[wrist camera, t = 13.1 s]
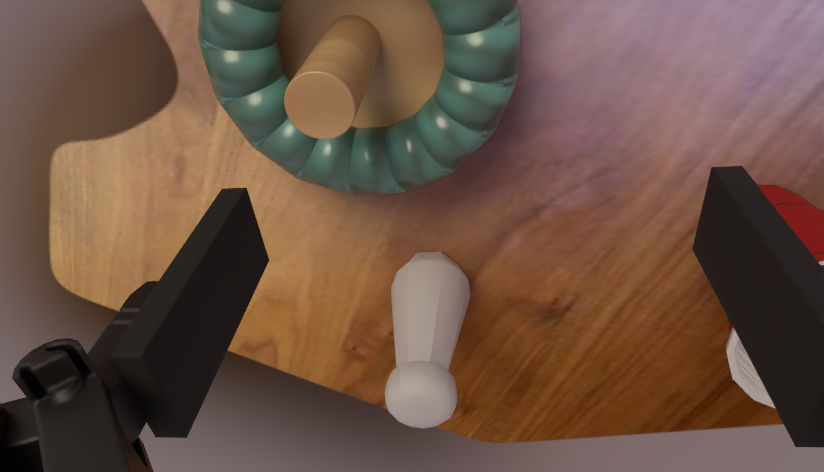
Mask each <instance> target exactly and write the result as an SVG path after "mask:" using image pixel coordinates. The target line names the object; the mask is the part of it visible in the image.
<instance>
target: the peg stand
mask: <svg viewBox="0 0 824 472" xmlns="http://www.w3.org/2000/svg"><path fill="white" fill-rule="evenodd" d="M277 44H278V48H279V52H280V57H281V61H282V65H283V70H284V72H285V74H286V75H287V77H288V78H289V80H290V81H291V82H290V83H289V85H288V86H287V89H286V91H285V95H284V105H285V110H286V113H287V115H288V117H289V119H290V121H291V122H292V123H293V125H294V126H295V127H296V128H297V129H298V130H300V131H301V132H302V133H304V134H306V135H308V136H310V137H313V138H317V139H332V138H336V137H338V136H340V135H342V134H344V133H345V132H346V131H347V130H348V129H349V128H350V127H351V126H353V127H356V128H370V127H389V126H391V125H393V124H395V123H397V122H399V121H401V120H404V119H406V118H408V117H410V116H412V115H414V114H416V112H417V111H418V110H419V109H420V108H421V107H422V106H423V105H424V104H425V103H426V101H427V100H428V99H429V98H430V97H431V96H432V95H433V94H434V92H435V89H436V87H437V84H438V81H439V78H440V75H441V72H442V69H443V66H444V53H443V37H442V30H441V28H440V26H439V24H438V22H437V20H436V18H435V16H434V14H433V12H432V10H431V8H430V6H429V4H428V1H427V0H287V1H286V2H285V4H284V5H283V7H282V9H281V15H280V21H279V28H278V34H277Z"/></svg>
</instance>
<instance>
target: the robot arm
mask: <svg viewBox="0 0 824 472" xmlns="http://www.w3.org/2000/svg"><path fill="white" fill-rule="evenodd" d="M693 251H694V253H695V255H696V257H697V259H698V261H699V262H700V264H701V266H702V268H703V270H704V272H705V274H706V276H707V278H708V280H709V282H710V284H711V285H712V287H713V289H714V291H715V293H716V295H717V297H718V299H719V301H720V303H721V305H722V307H723V308H724V310H725V312H726V314H727V316H728V318H729V320H730V322H731V324H732V326H733V328H734V330H735V331H736V333H737V335H738V337H739V339H740V341H741V343H742V345H743V347H744V349H745V351H746V352H747V354H748V356H749V358H750V360H751V362H752V364H753V366H754V368H755V370H756V372H757V374H758V375H759V377H760V379H761V381H762V383H763V385H764V387H765V389H766V391H767V393H768V395H769V397H770V398H771V400H772V402H773V404H774V406H775V408H776V410H777V412H778V414H779V416H780V418H781V420H782V421H783V423H784V425H785V427H786V429H787V431H788V433H789V435H790V437H791V439H792V441H793V442H794V444H795V446H796V447H824V265H820V264H819V262H818V261H817V260H816V259H815V257H814V256H813V255H812V254H811V252H810V251H809V250H808V248H807V247H806V246H805V245H804V243H803V242H802V241H801V240H800V238H799V237H798V236H797V235H796V233H795V232H794V231H793V230H792V228H791V227H790V226H789V225H788V223H787V222H786V221H785V220H784V218H783V217H782V216H781V215H780V213H779V212H778V211H777V209H776V208H775V207H774V206H773V204H772V203H771V202H770V201H769V199H768V198H767V197H766V196H765V194H764V193H763V192H762V191H761V189H760V188H759V187H758V186H757V184H756V183H755V182H754V181H753V179H752V178H751V177H750V176H749V174H748V173H747V172H746V170H745V169H744V168H743V167H742V166H732V167H712V168H711V172H710V177H709V181H708V185H707V189H706V194H705V198H704V202H703V206H702V211H701V215H700V219H699V223H698V227H697V232H696V236H695V240H694V244H693ZM268 262H269V258H268V255H267V252H266V249H265V246H264V242H263V239H262V236H261V233H260V230H259V226H258V223H257V220H256V217H255V214H254V210H253V207H252V204H251V201H250V198H249V194H248V191H247V188H230V189H222V190H221V191H220V193H219V194H218V196H217V197H216V198H215V200H214V201H213V203H212V204H211V206H210V207H209V209H208V210H207V212H206V213H205V215H204V216H203V217H202V219H201V220H200V222H199V223H198V225H197V226H196V228H195V229H194V231H193V232H192V233H191V235H190V236H189V238H188V239H187V241H186V242H185V244H184V245H183V247H182V248H181V250H180V251H179V252H178V254H177V255H176V257H175V258H174V260H173V261H172V263H171V264H170V266H169V267H168V268H167V270H166V271H165V273H164V274H163V276H162V277H161V279H160V280H159V281H151V282H146V283H145V284H143V285H142V286H141V287H140V288H138V289H137V290H136V291H135V292H133V293H132V294H131V295H130V296H129V297H128V299H127V300H126V302H125V303H124V304H123V306H122V307H121V308H120V312H119V313H117V314H116V315H115V317H114V318H113V320H112V321H111V325H108V326H107V328H106V329H105V330H104V332H103V333H102V335H101V336H100V337H99V339H98V340H97V341H96V343H95V344H94V346H93V347H92V348H91V350H90V351H89V353H88V354H86V352H85V350H84V349H83V347H82V346H81V344H80V343H79V342H78V341H77V340H73V339H57V340H54V341H51V342H48V343H45V344H43V345H41V346H39V347H38V348H36V349H34V350H32V351H31V352H30V353H28V354H27V355H26V356H25V357H24V358H23V359H21V360H20V362H19V363H18V365H17V366H16V367H15V369H14V372H13V377H12V378H13V380H14V381H15V382H16V384H17V385H18V386H19V388H20V389H21V390H22V391H23V393H24V394H25V395H26V398H22V399H18V400H14V401H10V402H6V403H3V404H1V403H0V472H153V469H152V467H151V464H150V461H149V458H148V455H147V453H146V450H145V447H144V444H143V443H142V441H141V439H140V438H139V435H140V433H141V431H142V429H143V427H144V425H145V424H146V422H147V423H148V425H149V427H150V428H151V430H152V432H153V433H154V435H155V437H177V438H186V437H187V436H188V434H189V431H190V429H191V427H192V425H193V423H194V421H195V419H196V416H197V414H198V412H199V410H200V408H201V406H202V403H203V401H204V399H205V397H206V395H207V393H208V391H209V388H210V386H211V384H212V382H213V380H214V377H215V376H216V373H217V371H218V369H219V367H220V365H221V362H222V360H223V358H224V356H225V354H226V352H227V350H228V348H229V345H230V343H231V341H232V339H233V337H234V335H235V333H236V330H237V328H238V326H239V324H240V322H241V320H242V317H243V315H244V313H245V311H246V309H247V307H248V305H249V302H250V300H251V298H252V296H253V294H254V292H255V289H256V287H257V285H258V283H259V281H260V279H261V277H262V274H263V272H264V270H265V268H266V266H267V264H268Z"/></svg>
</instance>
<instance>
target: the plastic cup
mask: <svg viewBox="0 0 824 472" xmlns="http://www.w3.org/2000/svg"><path fill="white" fill-rule="evenodd" d="M757 186H758V187H759V188H760V189H761V191H762V192H763V193H764V194H765V196H766V197H767V198H768V199H769V201H770V202H771V203H772V204H773V206H774V207H775V208H776V209H777V211H778V212H779V213H780V215H781V216H782V217H783V218H784V220H785V221H786V222H787V223H788V225H789V226H790V227H791V228H792V230H793V231H794V232H795V233H796V235H797V236H798V237H799V238H800V240H801V241H802V242H803V243H804V245H805V246H806V247H807V248H808V250H809V251H810V252H811V254H812V255H813V256H814V257H815V259H816V260H817V261H818V262H819V264H820V265H824V211H823V210H820V209H818V208H816V207H815V206H813V205H812V204H811V203H809V202H808V201H806V200H805V199H803V198H802V197H800V196H799V195H798V194H796V193H793V192H791V191H788V190H786V189H783V188H781V187H778V186H776V185H757ZM728 320H729V318H728ZM729 330H730V336H729V339H728V342H727V345H726V352H727V356H728V361H729V365H730V370H731V374H732V379H733V380H734V381H735V382H736V383H737V384H738V385H739V386H740V387H741V388H742V389H743V390H744V391H745V392H746V393H747V394H748V395H749V396H750V397H751V398H752V399H753V400H755V401H758V402H760V403H763V404H765V405H768V406H770V407H773V408H775V406H774V404H773V402H772V400H771V398H770V397H769V395H768V393H767V391H766V389H765V387H764V385H763V383H762V381H761V379H760V377H759V375H758V374H757V372H756V370H755V368H754V366H753V364H752V362H751V360H750V358H749V356H748V354H747V352H746V351H745V349H744V347H743V345H742V343H741V341H740V339H739V337H738V335H737V333H736V331H735V330H734V328H733V326H732V324H731V322H730V320H729Z"/></svg>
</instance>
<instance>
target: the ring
mask: <svg viewBox="0 0 824 472" xmlns="http://www.w3.org/2000/svg"><path fill="white" fill-rule="evenodd" d="M286 1H287V0H200V13H199V26H198V39H199V43H200V47H201V50H202V54H203V57H204V60H205V63H206V67H207V70H208V73H209V76H210V79H211V83H212V86H213V89H214V92H215V95H216V97H217V99H218V101H219V102H220V104H221V106H222V107H223V108H224V110H225V111H226V112H227V114H228V115H229V116H230V118H231V119H232V120H233V122H234V123H235V124H236V126H237V127H238V128H239V130H240V131H241V133H242V134H243V135H244V137H245V138H246V139H247V141H248V142H249V143H250V144H251V145H252V146H253V147H254V148H255V149H256V150H257V151H259V152H260V153H262V154H263V155H265V156H266V157H267V158H269V159H270V160H272V161H273V162H275V163H276V164H277V165H279V166H280V167H282V168H283V169H285V170H286V171H287V172H289V173H290V174H292V175H293V176H294V177H296V178H298V179H300V180H303V181H306V182H309V183H312V184H316V185H319V186H322V187H326V188H329V189H332V190H335V191H339V192H342V193H345V194H349V195H367V194H393V193H403V192H407V191H410V190H412V189H415V188H417V187H420V186H422V185H424V184H427V183H429V182H432V181H434V180H437V179H439V178H441V177H444V176H446V175H449V174H450V173H452V172H454V171H455V170H457V169H458V168H459V167H460V166H461V165H462V164H463V163H464V162H465V161H466V160H467V159H468V158H469V157H470V156H471V155H472V154H473V153H474V152H475V151H477V150H478V149H479V148H480V147H481V146H482V145H483V144H484V143H485V142H486V141H487V140H488V139H489V138H490V137H491V136H492V134H493V133H494V132H495V130H496V128H497V127H498V124H499V122H500V120H501V118H502V115H503V113H504V111H505V108H506V106H507V104H508V102H509V99H510V97H511V95H512V92H513V90H514V88H515V85H516V83H517V80H518V77H519V69H520V8H519V4H518V1H517V0H427V1H428V4H429V6H430V8H431V10H432V12H433V14H434V16H435V18H436V20H437V22H438V24H439V26H440V28H441V30H442V37H443V53H444V66H443V69H442V72H441V75H440V78H439V81H438V84H437V87H436V89H435V92H434V94H433V95H432V96H431V97H430V98H429V99H428V100H427V101H426V103H425V104H424V105H423V106H422V107H421V108H420V109H419V110H418V111H417V112H416V114H414V115H412V116H410V117H408V118H406V119H404V120H401V121H399V122H397V123H395V124H393V125H391V126H389V127H370V128H356V127H353V126H351V127H350V128H349V129H348V130H347V131H346V132H345V133H344V134H342V135H340V136H338V137H336V138H332V139H317V138H313V137H310V136H308V135H306V134H304V133H302V132H301V131H300V130H298V129H297V128H296V127H295V126H294V125H293V123H292V122H291V121H290V119H289V117H288V115H287V113H286V110H285V105H284V95H285V91H286V89H287V86H288V85H289V83H290V82H291V81H290V80H289V78H288V77H287V75H286V74H285V72H284V70H283V65H282V61H281V57H280V52H279V48H278V44H277V34H278V28H279V21H280V15H281V9H282V7H283V5H284V4H285V2H286Z"/></svg>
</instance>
